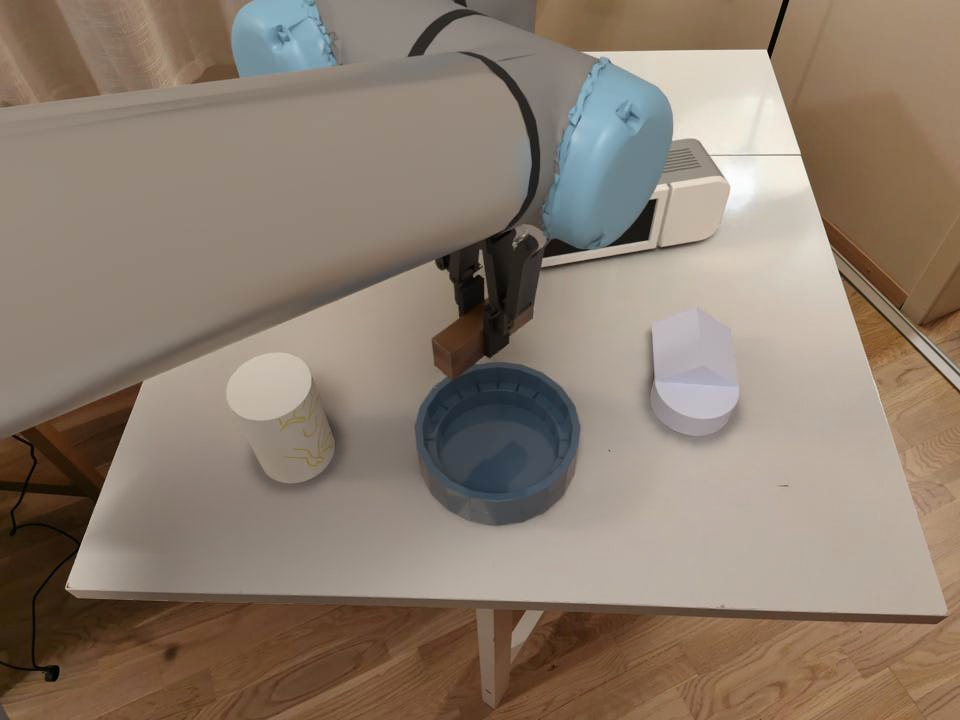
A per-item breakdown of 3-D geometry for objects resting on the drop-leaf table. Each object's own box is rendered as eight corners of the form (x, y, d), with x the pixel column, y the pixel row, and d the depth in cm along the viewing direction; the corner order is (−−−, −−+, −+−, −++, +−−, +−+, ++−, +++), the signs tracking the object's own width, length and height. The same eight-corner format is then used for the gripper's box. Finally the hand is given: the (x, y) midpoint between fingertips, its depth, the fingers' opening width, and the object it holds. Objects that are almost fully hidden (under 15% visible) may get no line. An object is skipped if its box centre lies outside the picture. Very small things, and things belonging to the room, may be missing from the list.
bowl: (497, 561, 69) (496, 534, 64) (389, 456, 76) (381, 426, 72) (607, 457, 76) (614, 426, 71) (498, 370, 83) (497, 337, 79)
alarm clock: (518, 278, 93) (520, 206, 83) (502, 232, 98) (502, 160, 89) (714, 245, 96) (736, 172, 86) (688, 202, 101) (706, 129, 92)
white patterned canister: (313, 492, 74) (286, 430, 65) (246, 471, 76) (209, 407, 66) (347, 430, 79) (325, 363, 69) (282, 411, 80) (253, 344, 71)
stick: (452, 381, 66) (450, 354, 62) (434, 365, 67) (430, 338, 64) (533, 318, 70) (535, 290, 67) (514, 305, 71) (515, 276, 68)
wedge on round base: (647, 342, 85) (651, 432, 77) (656, 304, 80) (662, 396, 72) (723, 347, 85) (736, 438, 77) (737, 308, 79) (753, 403, 71)
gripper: (599, 145, 48) (571, 362, 66) (443, 64, 55) (457, 280, 73) (523, 195, 45) (516, 409, 63) (368, 103, 52) (402, 318, 70)
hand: (484, 339), depth 68 cm, fingers closed on stick, 3 cm apart
